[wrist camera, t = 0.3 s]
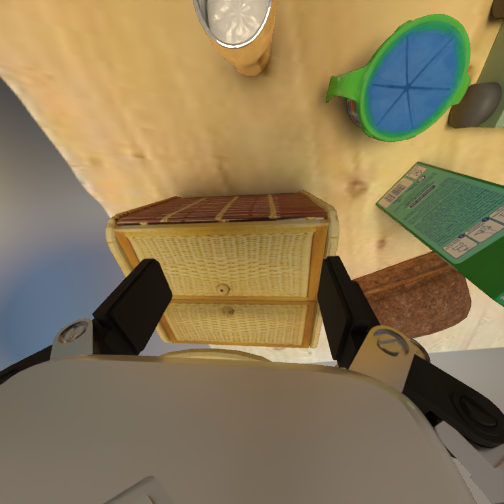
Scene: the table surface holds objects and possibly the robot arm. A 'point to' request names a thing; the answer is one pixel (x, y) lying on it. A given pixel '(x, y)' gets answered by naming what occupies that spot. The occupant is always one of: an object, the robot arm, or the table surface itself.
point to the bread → (418, 295)
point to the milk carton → (454, 221)
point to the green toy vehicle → (485, 88)
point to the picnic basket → (233, 268)
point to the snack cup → (408, 79)
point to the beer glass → (239, 31)
